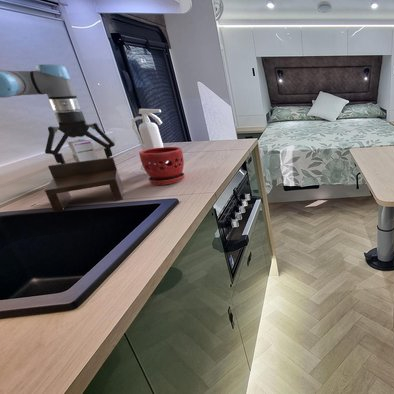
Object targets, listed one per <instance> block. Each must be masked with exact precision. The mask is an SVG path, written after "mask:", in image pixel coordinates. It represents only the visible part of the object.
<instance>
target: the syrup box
mask: <svg viewBox="0 0 394 394" xmlns="http://www.w3.org/2000/svg"><path fill="white" fill-rule="evenodd" d="M91 140H92V139H91ZM91 140H90V139H87V138H79V139H73V140H69V141H68V140H66V142H67V145H68V148H69V150H70V153H71V156H72V157H73V159H74V162H80V161H88V160H96V159H98V155H97V154H96V151H95V148H94V145H93V143H92V141H91Z"/></svg>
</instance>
